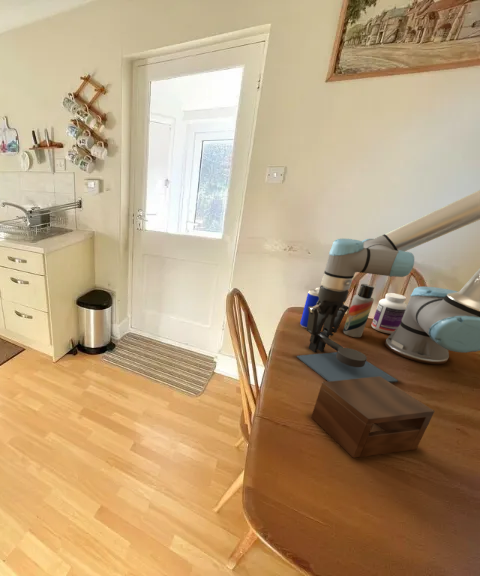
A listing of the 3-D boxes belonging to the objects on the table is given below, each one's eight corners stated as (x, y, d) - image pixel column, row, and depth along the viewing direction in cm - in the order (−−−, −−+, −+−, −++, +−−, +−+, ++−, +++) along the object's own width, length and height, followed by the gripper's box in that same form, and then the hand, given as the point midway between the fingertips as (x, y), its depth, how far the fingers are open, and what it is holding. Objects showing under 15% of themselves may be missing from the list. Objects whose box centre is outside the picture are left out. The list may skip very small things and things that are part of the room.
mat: (349, 352, 107) (350, 350, 107) (397, 381, 92) (398, 380, 92) (296, 357, 104) (296, 355, 104) (337, 388, 90) (337, 386, 89)
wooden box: (366, 411, 81) (379, 376, 77) (416, 449, 70) (435, 411, 66) (311, 417, 79) (322, 382, 75) (353, 458, 68) (368, 419, 64)
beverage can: (317, 329, 122) (327, 294, 116) (302, 328, 123) (312, 293, 117) (311, 323, 126) (321, 289, 121) (297, 322, 127) (306, 288, 122)
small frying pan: (317, 333, 111) (319, 327, 110) (370, 366, 93) (373, 359, 92) (300, 334, 110) (302, 328, 110) (350, 368, 92) (352, 361, 91)
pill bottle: (403, 333, 119) (416, 298, 114) (388, 336, 117) (401, 301, 111) (379, 323, 126) (391, 290, 121) (365, 326, 124) (376, 293, 119)
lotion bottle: (338, 330, 121) (353, 282, 114) (352, 329, 121) (367, 281, 114) (351, 338, 116) (368, 288, 108) (365, 337, 116) (382, 287, 109)
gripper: (323, 293, 95) (304, 358, 104) (366, 290, 97) (344, 354, 106) (304, 284, 102) (288, 346, 111) (345, 282, 104) (326, 342, 113)
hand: (315, 350), depth 109 cm, fingers closed on small frying pan, 2 cm apart
